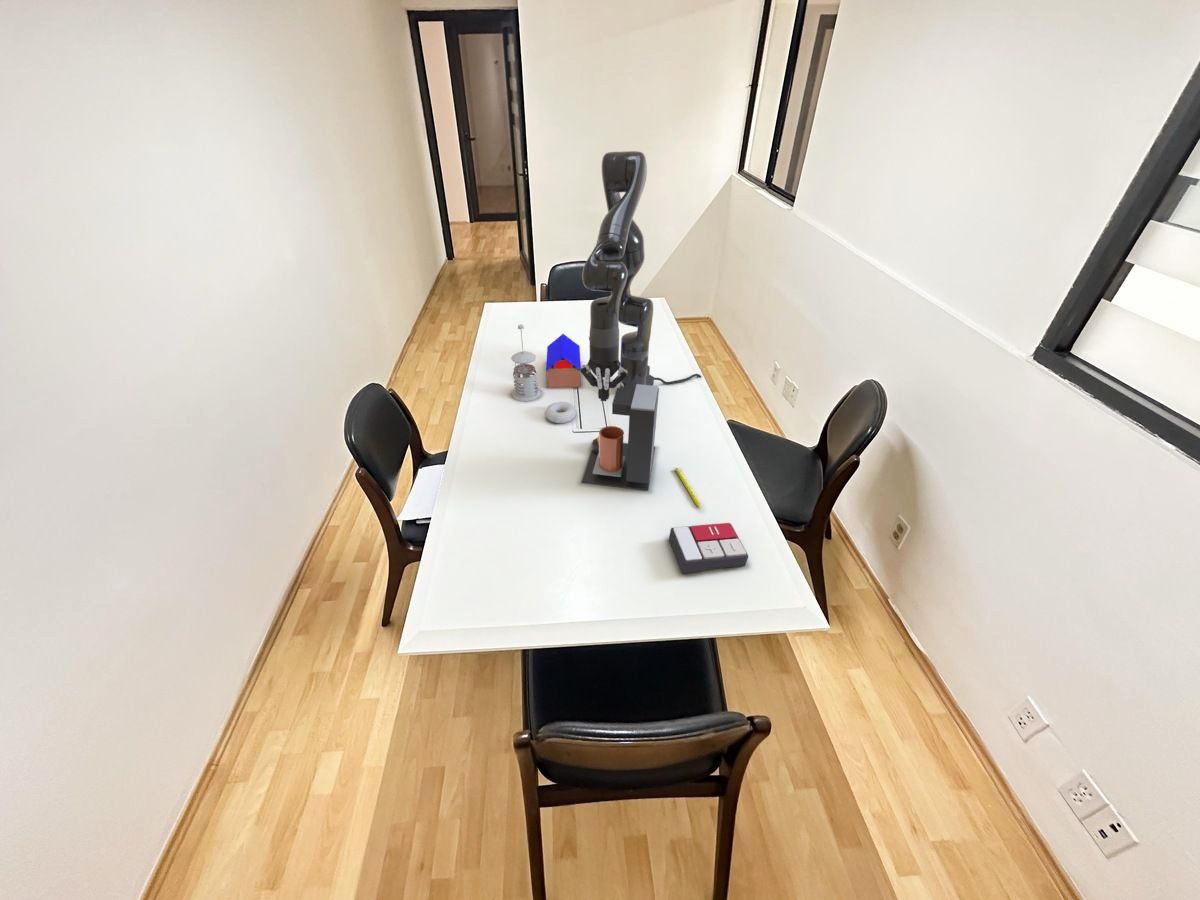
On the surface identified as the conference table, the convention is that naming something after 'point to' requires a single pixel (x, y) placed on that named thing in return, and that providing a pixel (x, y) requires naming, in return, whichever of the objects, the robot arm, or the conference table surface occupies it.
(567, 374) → the house
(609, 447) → the tumbler
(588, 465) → the coffee maker base
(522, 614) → the conference table surface
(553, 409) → the donut
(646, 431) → the coffee maker
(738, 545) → the calculator
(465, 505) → the conference table surface
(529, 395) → the french press
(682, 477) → the pencil
